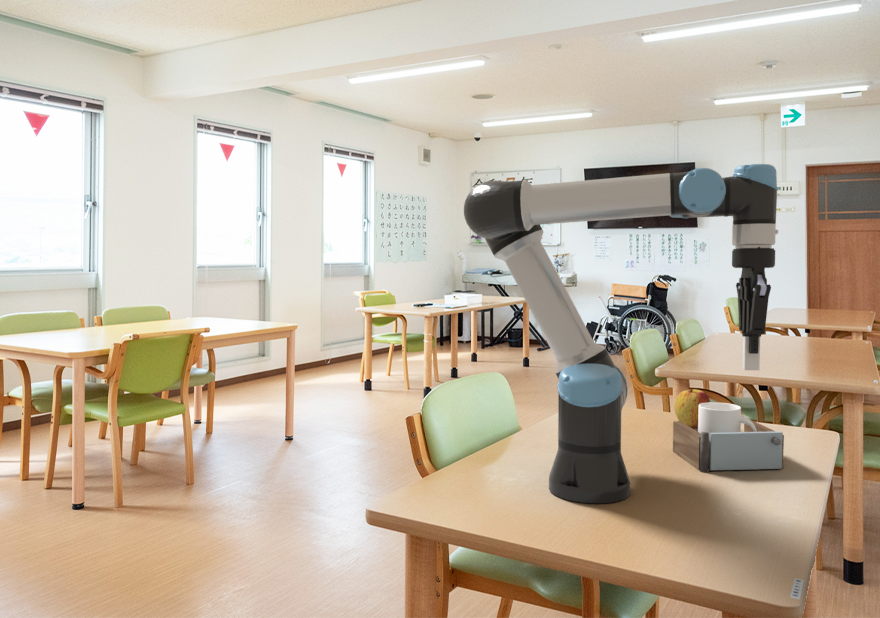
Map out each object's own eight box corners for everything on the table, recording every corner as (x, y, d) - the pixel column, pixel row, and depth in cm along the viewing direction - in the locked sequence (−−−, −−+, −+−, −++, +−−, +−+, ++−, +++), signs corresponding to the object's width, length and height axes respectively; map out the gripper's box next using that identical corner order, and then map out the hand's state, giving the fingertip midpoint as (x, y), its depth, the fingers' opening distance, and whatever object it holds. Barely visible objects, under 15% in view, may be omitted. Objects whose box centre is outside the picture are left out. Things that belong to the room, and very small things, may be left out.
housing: (701, 472, 142) (702, 434, 142) (672, 451, 158) (673, 416, 157) (787, 470, 143) (788, 432, 143) (749, 449, 159) (750, 415, 158)
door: (713, 472, 142) (714, 435, 141) (708, 468, 144) (709, 432, 143) (784, 470, 142) (785, 433, 142) (779, 467, 145) (779, 431, 144)
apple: (710, 431, 176) (711, 392, 175) (672, 429, 179) (673, 390, 178) (710, 423, 184) (710, 386, 184) (674, 421, 187) (674, 384, 187)
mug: (750, 465, 144) (752, 414, 143) (692, 455, 151) (693, 407, 150) (761, 455, 150) (762, 407, 150) (704, 447, 158) (705, 400, 157)
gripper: (786, 246, 125) (783, 375, 127) (762, 247, 138) (759, 364, 140) (743, 246, 126) (740, 375, 128) (723, 248, 139) (721, 364, 141)
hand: (750, 369), depth 134 cm, fingers closed
